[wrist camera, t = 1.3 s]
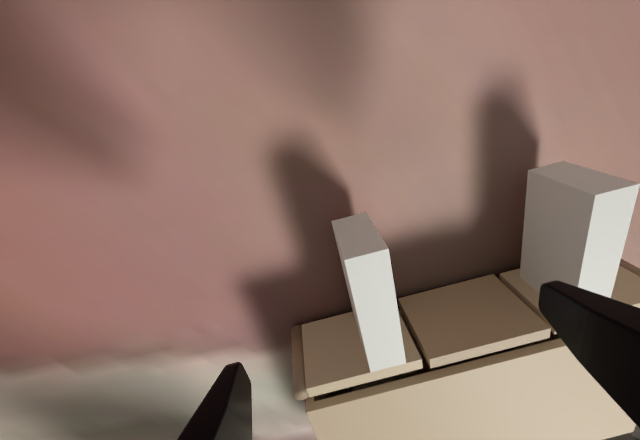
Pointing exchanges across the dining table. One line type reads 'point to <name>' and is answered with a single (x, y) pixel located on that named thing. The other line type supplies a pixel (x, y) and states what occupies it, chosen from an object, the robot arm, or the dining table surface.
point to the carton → (475, 378)
